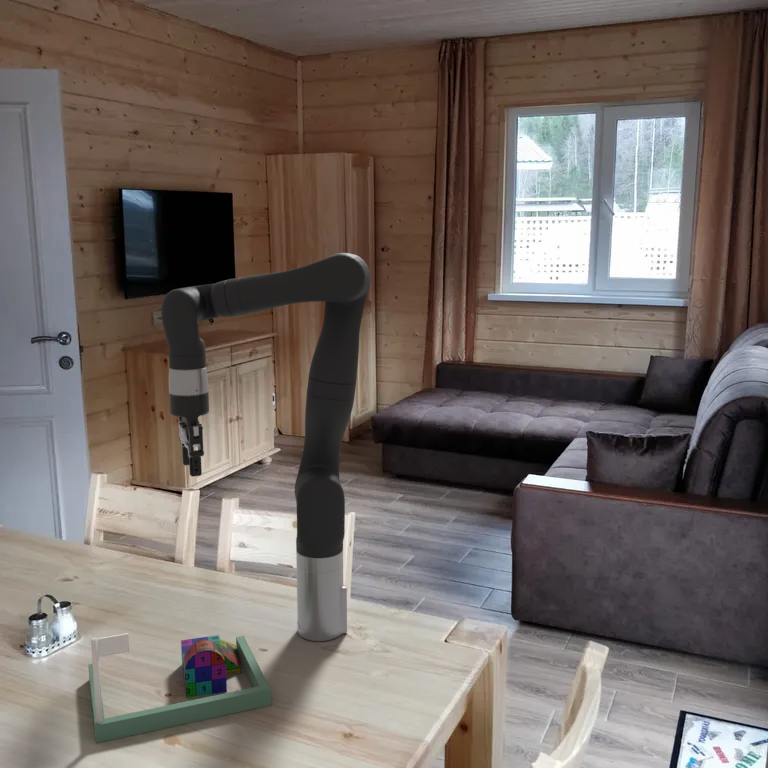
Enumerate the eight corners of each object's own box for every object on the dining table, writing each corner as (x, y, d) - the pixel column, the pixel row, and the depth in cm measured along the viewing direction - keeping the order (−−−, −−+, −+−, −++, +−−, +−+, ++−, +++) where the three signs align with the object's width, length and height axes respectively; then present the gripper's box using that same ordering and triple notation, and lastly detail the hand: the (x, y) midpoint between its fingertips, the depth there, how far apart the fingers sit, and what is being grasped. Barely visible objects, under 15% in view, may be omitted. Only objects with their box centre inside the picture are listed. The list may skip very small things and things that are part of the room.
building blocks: (245, 689, 144) (244, 644, 142) (186, 699, 141) (183, 653, 139) (235, 648, 158) (233, 607, 156) (181, 656, 155) (179, 614, 153)
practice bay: (244, 650, 157) (241, 566, 154) (270, 705, 139) (268, 611, 136) (89, 679, 146) (83, 590, 143) (96, 743, 128) (89, 642, 125)
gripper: (215, 395, 155) (217, 477, 158) (201, 382, 168) (204, 459, 171) (174, 398, 153) (178, 482, 155) (164, 385, 165) (167, 462, 168)
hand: (192, 469), depth 163 cm, fingers open, 8 cm apart
